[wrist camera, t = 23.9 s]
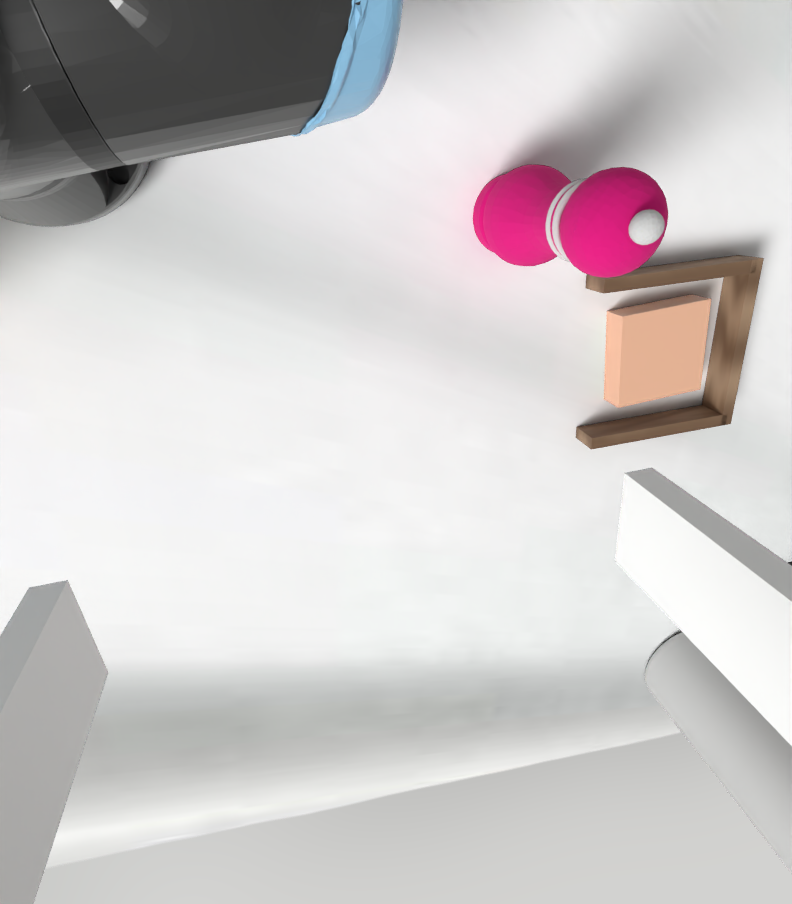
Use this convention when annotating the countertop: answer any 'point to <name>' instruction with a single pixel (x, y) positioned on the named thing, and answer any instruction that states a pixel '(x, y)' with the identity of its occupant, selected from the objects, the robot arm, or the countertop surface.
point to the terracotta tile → (655, 349)
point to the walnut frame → (724, 353)
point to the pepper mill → (572, 218)
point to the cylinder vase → (727, 737)
